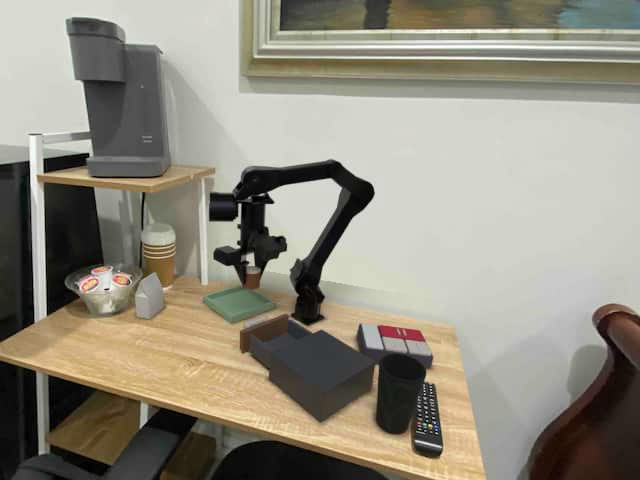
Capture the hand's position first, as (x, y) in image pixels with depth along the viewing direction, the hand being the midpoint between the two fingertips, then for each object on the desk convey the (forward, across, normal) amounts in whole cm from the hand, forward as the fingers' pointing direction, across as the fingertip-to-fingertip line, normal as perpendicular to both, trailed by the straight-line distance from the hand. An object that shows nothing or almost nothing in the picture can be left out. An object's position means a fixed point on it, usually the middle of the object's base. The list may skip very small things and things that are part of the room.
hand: (250, 282), depth 97 cm
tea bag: (+11, -18, +19) cm, 28 cm away
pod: (+1, 0, 0) cm, 1 cm away
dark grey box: (+11, -5, -29) cm, 31 cm away
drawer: (+10, -4, -15) cm, 18 cm away
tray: (+11, +2, +8) cm, 14 cm away
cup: (+11, -2, -44) cm, 45 cm away
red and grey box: (+11, +17, -31) cm, 37 cm away
